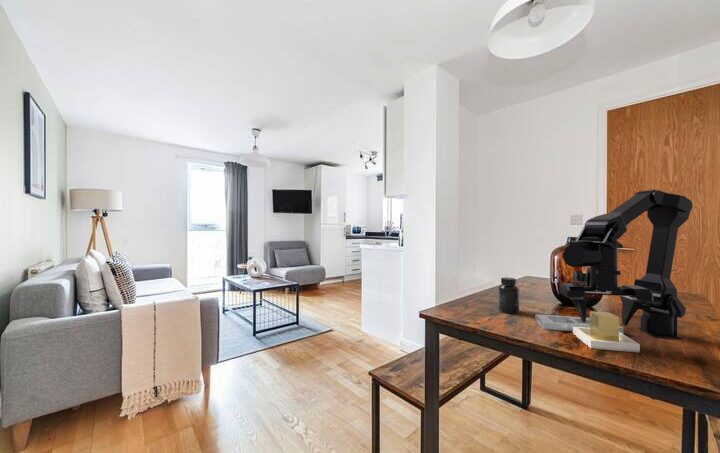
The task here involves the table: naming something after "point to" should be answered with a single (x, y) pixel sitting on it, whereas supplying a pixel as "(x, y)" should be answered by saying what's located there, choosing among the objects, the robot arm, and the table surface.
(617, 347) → the tray
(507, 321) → the table surface
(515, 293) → the supplement bottle
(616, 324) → the wood grain block
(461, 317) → the table surface
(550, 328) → the grey flat plate
